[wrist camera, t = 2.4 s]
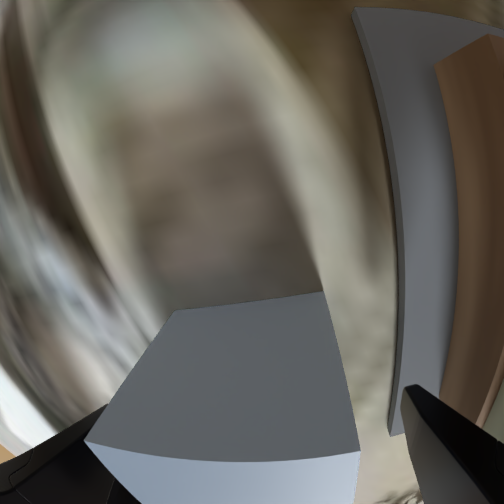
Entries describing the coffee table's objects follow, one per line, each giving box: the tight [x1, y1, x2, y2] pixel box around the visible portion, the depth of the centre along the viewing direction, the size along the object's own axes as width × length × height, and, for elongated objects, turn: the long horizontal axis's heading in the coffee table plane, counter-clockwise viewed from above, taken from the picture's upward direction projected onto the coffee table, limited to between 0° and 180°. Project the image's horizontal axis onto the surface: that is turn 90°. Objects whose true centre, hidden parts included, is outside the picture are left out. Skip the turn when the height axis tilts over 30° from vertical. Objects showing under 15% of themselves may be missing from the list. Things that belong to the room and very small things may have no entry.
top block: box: [84, 291, 361, 504], centre depth 7 cm, size 5×5×6 cm
